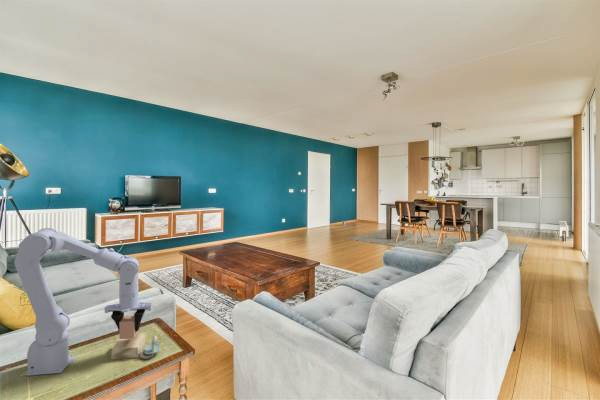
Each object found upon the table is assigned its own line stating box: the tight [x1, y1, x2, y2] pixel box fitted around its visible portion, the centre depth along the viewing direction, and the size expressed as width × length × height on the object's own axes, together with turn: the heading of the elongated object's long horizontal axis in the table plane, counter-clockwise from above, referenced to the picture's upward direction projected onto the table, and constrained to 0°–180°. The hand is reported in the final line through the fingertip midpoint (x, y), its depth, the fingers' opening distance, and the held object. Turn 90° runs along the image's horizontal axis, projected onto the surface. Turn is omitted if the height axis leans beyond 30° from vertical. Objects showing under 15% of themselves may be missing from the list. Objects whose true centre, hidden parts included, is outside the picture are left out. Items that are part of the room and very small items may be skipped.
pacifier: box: [139, 334, 161, 360], centre depth 99 cm, size 7×6×6 cm
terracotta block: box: [118, 314, 140, 339], centre depth 99 cm, size 4×4×6 cm
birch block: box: [111, 334, 146, 360], centre depth 100 cm, size 8×8×4 cm
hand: (129, 330), depth 99 cm, fingers closed on terracotta block, 4 cm apart
